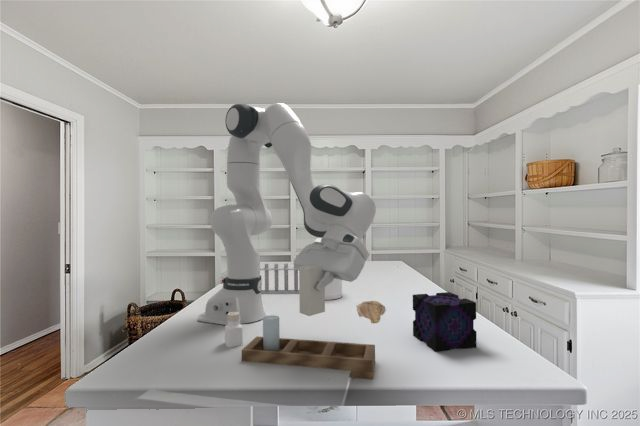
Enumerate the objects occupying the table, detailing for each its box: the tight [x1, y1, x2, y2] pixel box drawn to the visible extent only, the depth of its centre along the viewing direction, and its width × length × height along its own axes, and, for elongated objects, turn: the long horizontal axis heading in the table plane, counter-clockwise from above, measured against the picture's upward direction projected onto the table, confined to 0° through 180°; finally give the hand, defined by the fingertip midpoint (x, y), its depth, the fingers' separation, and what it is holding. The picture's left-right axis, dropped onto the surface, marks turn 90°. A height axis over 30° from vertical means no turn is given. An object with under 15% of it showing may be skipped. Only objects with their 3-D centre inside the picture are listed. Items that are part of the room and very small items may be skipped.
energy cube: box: [412, 291, 477, 353], centre depth 95 cm, size 12×12×12 cm
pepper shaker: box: [224, 312, 244, 348], centre depth 91 cm, size 4×4×10 cm
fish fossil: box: [356, 300, 386, 324], centre depth 123 cm, size 26×10×1 cm, turn 177°
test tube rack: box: [260, 263, 300, 295], centre depth 155 cm, size 25×4×13 cm, turn 89°
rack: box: [241, 336, 376, 380], centre depth 82 cm, size 30×9×4 cm, turn 78°
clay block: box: [298, 265, 326, 317], centre depth 82 cm, size 4×5×11 cm
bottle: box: [312, 237, 343, 301], centre depth 147 cm, size 14×14×28 cm
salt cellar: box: [262, 314, 281, 352], centre depth 84 cm, size 4×4×9 cm
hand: (310, 288), depth 82 cm, fingers closed on clay block, 3 cm apart
